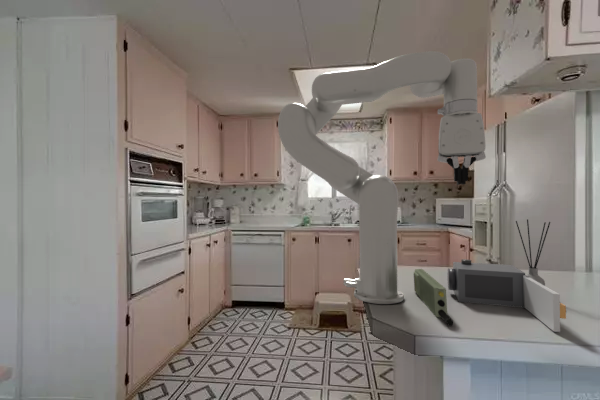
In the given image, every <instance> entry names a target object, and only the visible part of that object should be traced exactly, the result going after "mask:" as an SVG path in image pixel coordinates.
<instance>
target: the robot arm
mask: <svg viewBox="0 0 600 400" xmlns="http://www.w3.org/2000/svg"><path fill="white" fill-rule="evenodd" d="M477 66H478V65H477V62H476V61H475V60H474V59H473V58H459V59H455V60H452V61H451V59H450V57H449V56H448V55H447V54H445V53H443V52H441V51H435V50H434V51H432V50H430V51H429V50H428V51H422V52H412V53H406V54H403V55H399V56H396V57H394V58H391V59H389V60H385V61H383V62H381V63H378V64H377V65H374V66H371V67H364V68H358V69H357V68H355V69H347V70H338V71H330V72H324V73H321V74H319V75H317V76H316V77H315V78H314V80H313V82H312V85H311V95H312V98H311V99H310V100H309V102H308V103H307V104H306V105H304V104H303V103H302V104H301V103H299V102H290V103H288V104H286V105H284V106H283V107H282V109H281V111H280V113H279V115H278V120H277V121H278V122H277V130H278V135H279V138H280V142H281V143H282V146H283V148H284V149H285V151H286V152H287V153H288V154H289V156H290V157H292V158H293V159H294V160H295V162H298V163H299V164H300V165H302V166H303V167H305V168H306V169H308V171H310V172H312V173H313V174H314V175H316V176H318V177H320V178H321V179H322V180H323V181H325V182H327V184H328V185H329V186H331V187H332V189H334V190H336V191H337V192H339V193H340V194H341V195H343V196H345V197H346V198H348V199H349V200H352V201H353V202H354V203H355V204H358V205H359V206H358V207H359V209H358V210H359V212H358V213H359V215H358V218H359V220H358V221H359V222H358V224H359V227H358V228H359V229H358V233H359V234H358V236H359V277H356V278H355V279H352V278H344V279H343V286H345V287H346V288H355V289H354V290H353V297H355V299H356V300H359V301H361V302H365V303H370V304H377V305H391V304H393V305H394V304H397V303H401V302H403V301H404V299H405V294H404V293H403V292H402V291H401V290H398V289H399V287H398V285H399V284H398V282H399V280H398V211H399V209H398V208H399V191H398V188H397V185H396V184H395V182H394V181H393V180H392V179H391V178H390V177H388V176H387V175H382V174H375V175H374V174H373V173H371V172H369V171H367V170H366V169H364V168H363V167H361V166H360V165H359V163H358V162H357V160H355V159H354V158H353V157H351V156H349V155H347V154H345V153H344V152H343V151H340V150H338V149H337V148H335V147H334V146H332V145H330V144H328V143H327V142H325V140H323V139H321V138H319V137H318V136H317V134H319V132H320V131H322V129H323V128H325V126H326V125H327V124H328V123H329V122H330V121H331V120H332V119H333V117H334V116H335V115H336V114H337V113H338V111H340V109H341V108H342V106H343V105H353V104H363V103H371V102H374V101H377V100H379V99H380V98H382V97H384V96H385V95H386V94H388V93H390V92H392V91H395V90H397V89H399V88H403V87H408V86H409V88H410V91H411V93H412V94H413V95H414V96H416V97H418V98H423V99H425V98H431V97H435V96H441V95H443V106H442V107H441V108H438V109H437V115H442V116H441V118H440V121H439V129H438V143H437V144H438V148H437V150H438V151H437V152H438V156H437V159H436V160H437V162H440V163H444V164H448V165H449V166H450V167H451V168H452V169H453V180H454V182H456V186H457V185H458V186H459V185H462V186H463V185H466V184H467V183H466V182H468V181H469V168H470V166H472V165H473V164H474V163H475V162H478V161H483V160H484V159H486V152H485V151H486V134H485V125H484V120H483V116H482V113H480V112H478V68H477ZM459 158H463V162H462V166H461V165H460V164H459Z"/></svg>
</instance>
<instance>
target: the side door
mask: <svg viewBox="0 0 600 400" xmlns="http://www.w3.org/2000/svg"><path fill="white" fill-rule="evenodd" d="M527 275H528V274H525V275H523V306H524V307H525V309H526V310H527V311H529V312H530V313H531V314H532V315H533V316H534V317H536V318H537V319H538V320H539V321H540V322H541V323H543V325H545V326H546V327H547V328H549V329H550V330H551V331H552V332H555V333H561V319H564V320H566V319H567V313H566V312H567V310H566V309H567V307H566V305H565V304H564V303H562V302H561V299H560V293H559V292H556V291H555V290H553V289H551V288H549V287H548V286H546V285H545V286H544V285H542V284H541V283H539V282H537V281H535V280H533V279H532V278H530V276H527ZM524 307H523V308H524Z"/></svg>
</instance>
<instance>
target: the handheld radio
mask: <svg viewBox="0 0 600 400" xmlns="http://www.w3.org/2000/svg"><path fill="white" fill-rule="evenodd" d="M413 288H414V292H415V293H416V294H417V296H418V297H419V298H420V299H421V301H423V303H424V304H425V305H426V307H427V308H428V309H429V310H430V312H431V313H432V314H433V315H434V317H436V318H442V320H443V321H444V322H445V324H446V325H447V326H453V325H454V320H453V319H452V318H451V317H450V316H449V315H448V304H447V303H448V302H447V301H448V300H447V289H446V287H445V286H444V285H442V284H441V283H440V282H439V281H438V280H436V279H435V278H434V277H433V276H431V274H429V273H428V272H427V271H425V270H424V269H422V268H416V269H414V271H413Z"/></svg>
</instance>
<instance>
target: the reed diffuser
mask: <svg viewBox="0 0 600 400" xmlns="http://www.w3.org/2000/svg"><path fill="white" fill-rule="evenodd" d="M515 224H516V228H517V230H518V233H519V236H520V239H521V243H522V246H523V250H524V252H525V256H526V260H527V263H528V274H526V275H527V276H530V278H532V279H533V280H535V281H537V282H539V283H541V284H542V285H544V286H546V282H545V281H546V280H544V278H543V277H541V276H540V275H539V272H538V271H539V268H538V267H537V266H538V263H539V259H540V257H541V254H542V251H543V248H544V244H545V241H546V237H547V234H548V231H549V228H550V226H551V221H549V222H548V224H547V222H544V223H543V228H542V231H541V236H540V240H539V243H538V244H539V246H538V249H537V251H536V252H537V254H536V257H535V262H534V265H533V262H532V251H531V250H532V249H531V239H530V238H531V237H530V236H531V235H530V226H529V225H530V224H529V219H526V224H527V225H526V226H527V234H528V235H527V236H528V237H527V238H528V247H529V248H528V249H529V256H528V253H527V250H526V247H525V243H524V239H523V236H522V233H521V229H520V227H519V224H518V220H515ZM546 224H547V228H546V231H545V227H546ZM544 232H545V234H544ZM543 235H544V237H543Z"/></svg>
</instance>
